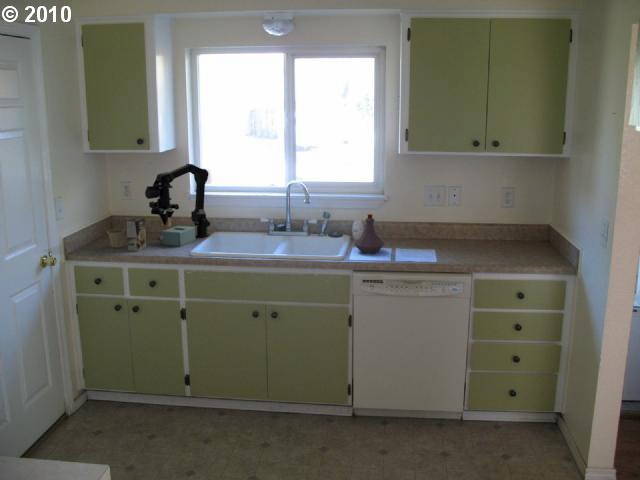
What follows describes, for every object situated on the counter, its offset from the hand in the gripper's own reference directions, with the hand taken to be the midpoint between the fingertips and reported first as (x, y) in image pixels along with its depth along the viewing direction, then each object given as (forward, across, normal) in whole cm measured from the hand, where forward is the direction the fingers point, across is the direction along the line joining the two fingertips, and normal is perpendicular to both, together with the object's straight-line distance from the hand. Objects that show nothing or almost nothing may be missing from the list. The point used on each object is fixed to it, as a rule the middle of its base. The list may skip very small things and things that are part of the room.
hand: (166, 224), depth 364 cm
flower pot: (+10, +19, -20) cm, 29 cm away
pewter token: (+11, -8, -6) cm, 15 cm away
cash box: (+11, -2, +7) cm, 13 cm away
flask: (+12, -23, +111) cm, 114 cm away
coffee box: (+10, +19, -6) cm, 23 cm away
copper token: (+1, 0, 0) cm, 1 cm away
